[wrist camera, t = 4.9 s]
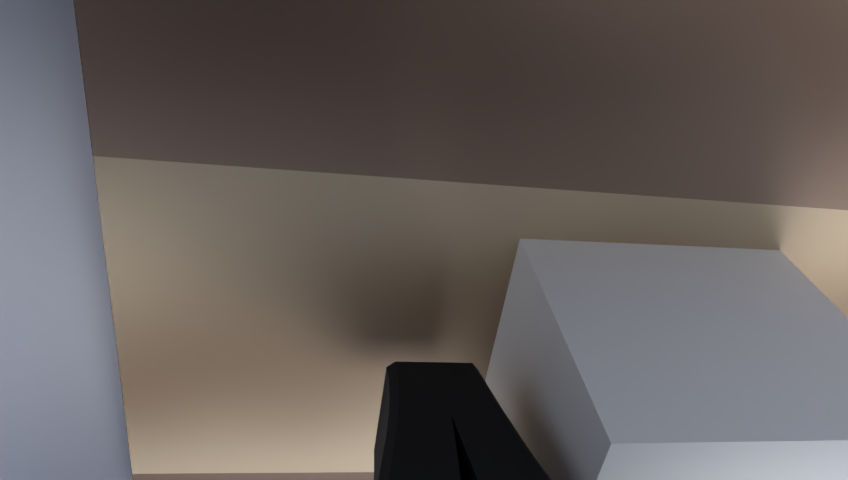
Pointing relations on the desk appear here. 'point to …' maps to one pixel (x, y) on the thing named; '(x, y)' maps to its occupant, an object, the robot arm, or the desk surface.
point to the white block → (671, 364)
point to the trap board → (419, 188)
